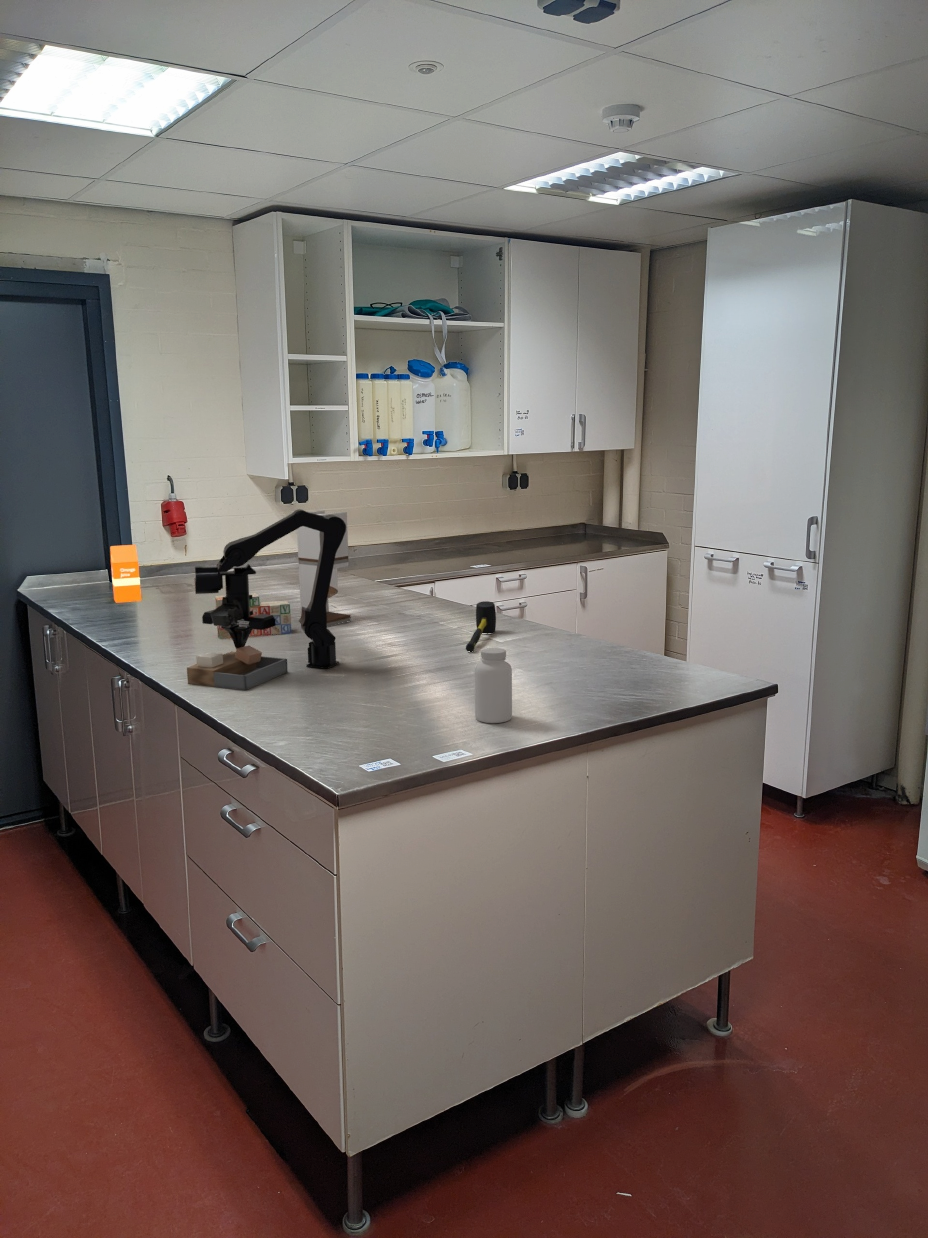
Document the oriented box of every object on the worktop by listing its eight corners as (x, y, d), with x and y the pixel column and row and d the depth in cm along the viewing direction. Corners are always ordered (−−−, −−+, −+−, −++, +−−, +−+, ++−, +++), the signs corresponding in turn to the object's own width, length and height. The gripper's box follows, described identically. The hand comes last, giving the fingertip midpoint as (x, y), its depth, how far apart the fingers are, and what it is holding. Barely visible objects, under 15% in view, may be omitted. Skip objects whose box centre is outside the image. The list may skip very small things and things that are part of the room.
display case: (325, 627, 294) (320, 514, 287) (301, 623, 300) (296, 513, 293) (350, 621, 303) (346, 511, 296) (327, 617, 309) (322, 510, 302)
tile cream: (223, 663, 235) (222, 653, 234) (211, 667, 231) (211, 657, 230) (208, 661, 236) (207, 652, 236) (196, 665, 232) (196, 656, 232)
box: (287, 672, 241) (286, 658, 241) (245, 690, 225) (244, 676, 224) (258, 668, 245) (257, 655, 244) (214, 686, 228) (213, 672, 228)
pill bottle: (510, 712, 206) (510, 645, 203) (513, 724, 198) (513, 654, 195) (474, 713, 206) (473, 646, 203) (475, 724, 198) (475, 655, 195)
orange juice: (113, 599, 345) (109, 545, 341) (139, 597, 349) (134, 543, 345) (115, 602, 338) (111, 547, 334) (141, 600, 342) (137, 545, 338)
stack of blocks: (288, 629, 292) (286, 590, 289) (291, 634, 286) (289, 593, 283) (217, 635, 285) (214, 595, 282) (219, 639, 279) (216, 598, 276)
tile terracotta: (260, 661, 240) (262, 652, 239) (247, 664, 236) (250, 655, 236) (247, 654, 242) (249, 645, 241) (234, 657, 238) (236, 648, 237)
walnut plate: (258, 668, 245) (257, 653, 244) (214, 686, 228) (213, 670, 228) (232, 666, 248) (231, 651, 247) (187, 683, 232) (186, 667, 231)
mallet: (480, 654, 259) (480, 620, 257) (459, 653, 260) (459, 619, 258) (497, 631, 287) (497, 600, 285) (478, 630, 288) (478, 599, 286)
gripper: (186, 594, 233) (189, 655, 237) (249, 600, 226) (251, 663, 229) (214, 587, 243) (217, 646, 247) (275, 593, 236) (277, 653, 239)
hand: (240, 652), depth 240 cm, fingers closed
